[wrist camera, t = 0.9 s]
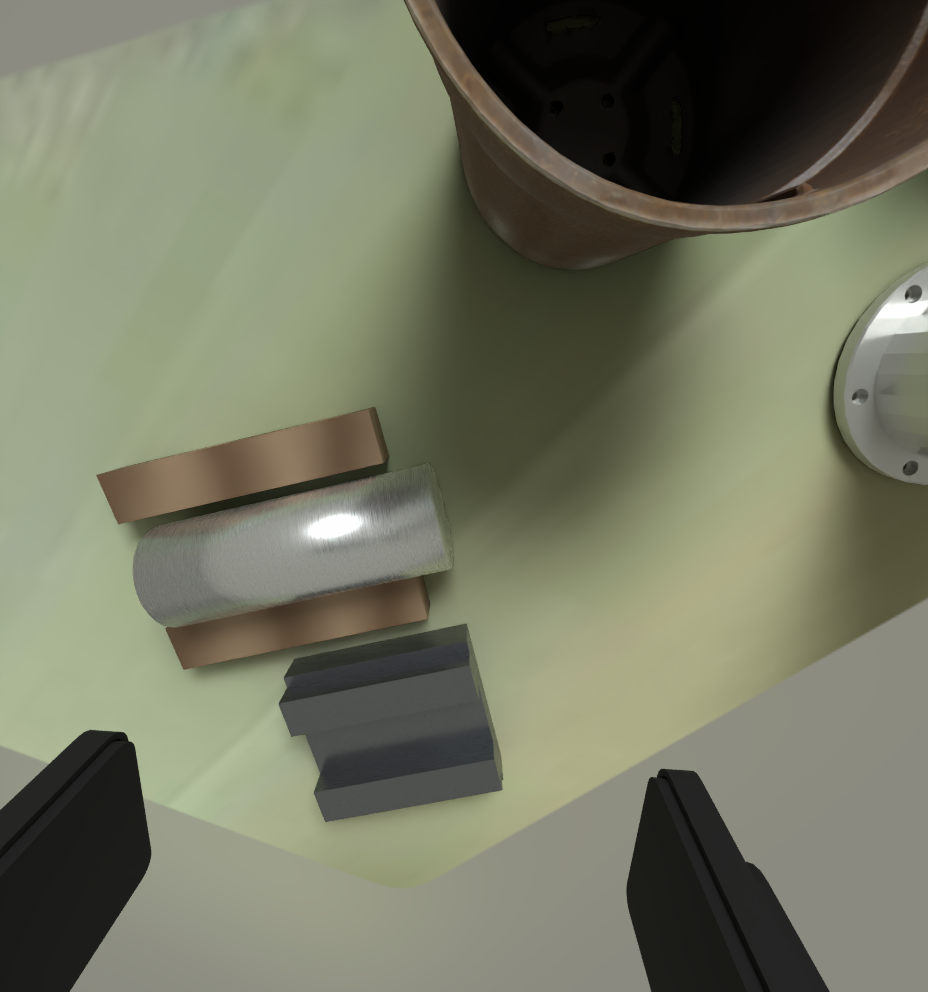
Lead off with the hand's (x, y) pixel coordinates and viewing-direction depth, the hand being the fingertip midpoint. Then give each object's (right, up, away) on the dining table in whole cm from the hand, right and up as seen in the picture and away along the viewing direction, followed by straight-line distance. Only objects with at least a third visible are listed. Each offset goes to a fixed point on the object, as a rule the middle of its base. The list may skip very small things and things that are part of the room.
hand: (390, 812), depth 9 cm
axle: (-8, +4, +21) cm, 23 cm away
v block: (-3, -9, +25) cm, 26 cm away
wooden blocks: (-10, +3, +21) cm, 24 cm away
